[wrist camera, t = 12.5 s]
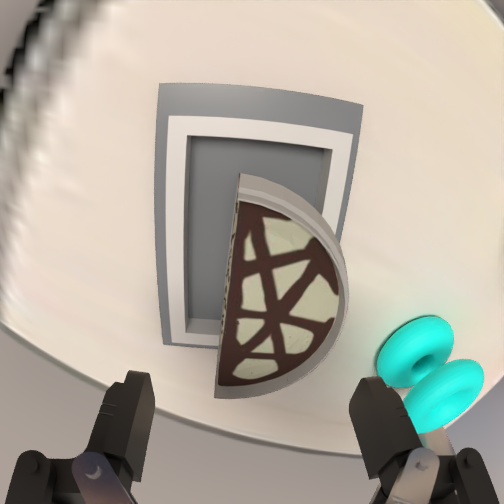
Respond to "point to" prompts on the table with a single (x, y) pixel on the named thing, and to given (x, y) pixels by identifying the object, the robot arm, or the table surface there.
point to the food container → (277, 292)
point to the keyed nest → (235, 183)
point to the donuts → (429, 373)
